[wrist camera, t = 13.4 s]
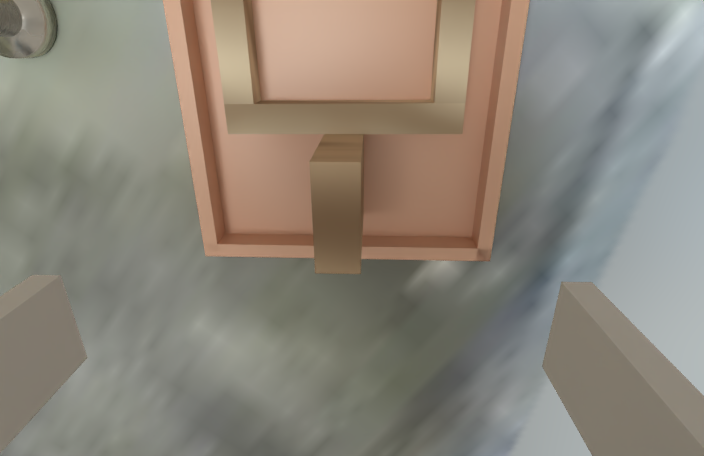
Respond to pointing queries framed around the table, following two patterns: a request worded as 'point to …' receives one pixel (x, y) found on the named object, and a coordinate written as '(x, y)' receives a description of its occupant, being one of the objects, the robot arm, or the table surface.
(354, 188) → the tan wooden piece
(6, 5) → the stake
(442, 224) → the tray
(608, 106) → the table surface
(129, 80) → the table surface
